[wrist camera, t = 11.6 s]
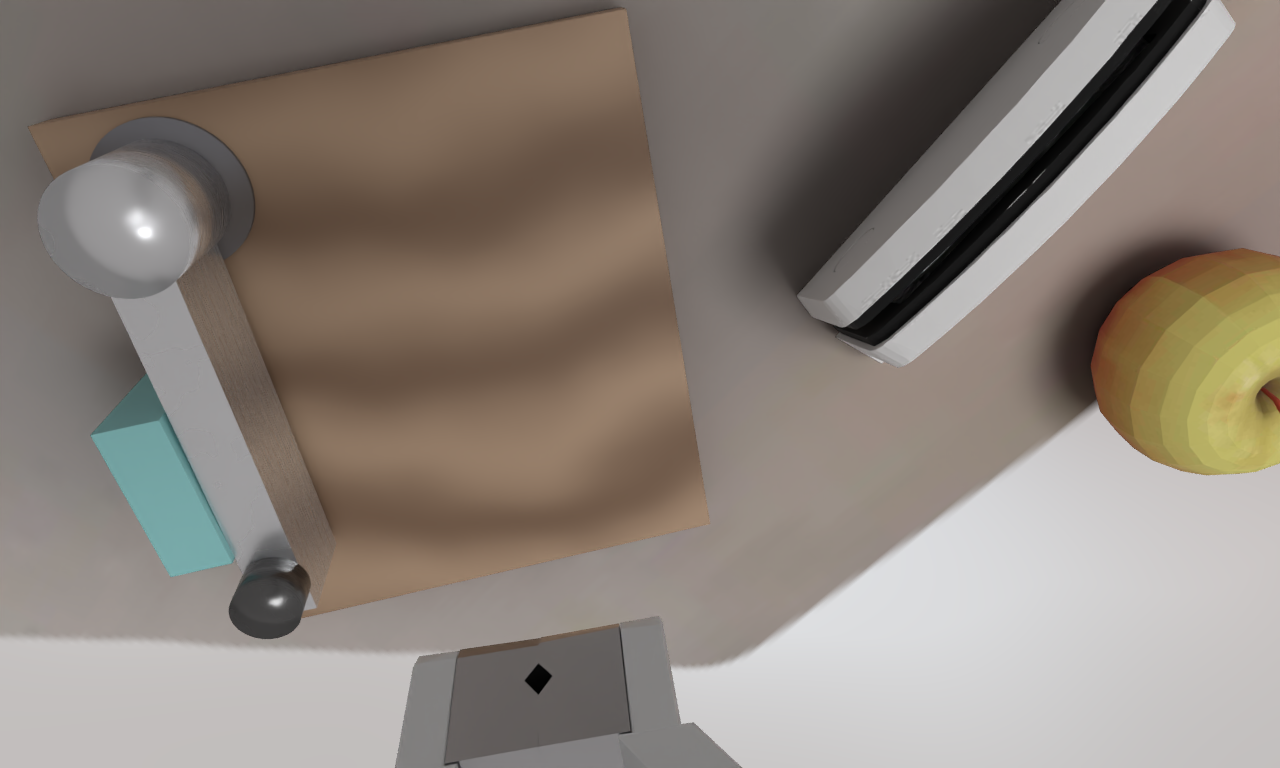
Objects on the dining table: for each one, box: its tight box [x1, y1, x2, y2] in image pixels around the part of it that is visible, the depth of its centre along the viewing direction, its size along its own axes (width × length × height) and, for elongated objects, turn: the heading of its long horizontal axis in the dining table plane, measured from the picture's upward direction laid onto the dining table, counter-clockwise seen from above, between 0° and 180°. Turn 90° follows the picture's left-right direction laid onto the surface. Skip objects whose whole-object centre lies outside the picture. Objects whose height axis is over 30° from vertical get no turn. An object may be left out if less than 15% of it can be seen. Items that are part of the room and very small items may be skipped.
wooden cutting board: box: [28, 7, 710, 618], centre depth 33 cm, size 22×20×2 cm
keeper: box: [90, 373, 235, 577], centre depth 30 cm, size 6×2×5 cm, turn 10°
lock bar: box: [37, 139, 336, 639], centre depth 28 cm, size 17×4×6 cm, turn 8°
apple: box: [1091, 248, 1280, 475], centre depth 35 cm, size 10×10×8 cm
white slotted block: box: [797, 0, 1235, 368], centre depth 30 cm, size 17×5×10 cm, turn 140°
